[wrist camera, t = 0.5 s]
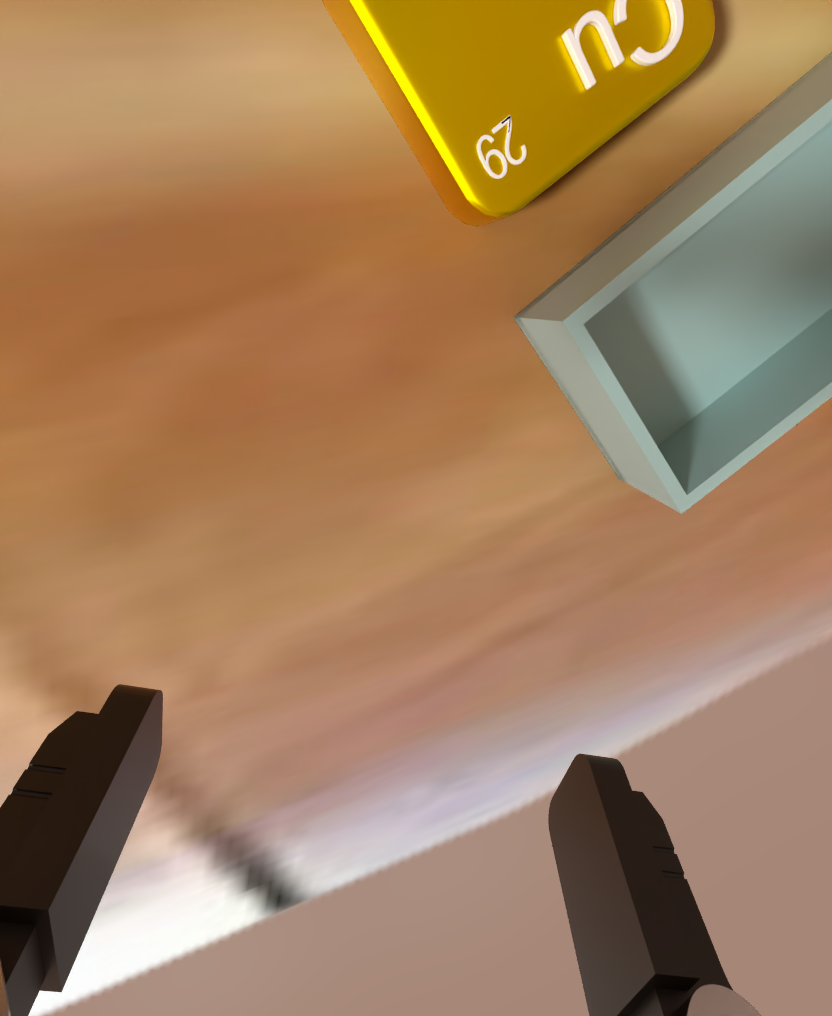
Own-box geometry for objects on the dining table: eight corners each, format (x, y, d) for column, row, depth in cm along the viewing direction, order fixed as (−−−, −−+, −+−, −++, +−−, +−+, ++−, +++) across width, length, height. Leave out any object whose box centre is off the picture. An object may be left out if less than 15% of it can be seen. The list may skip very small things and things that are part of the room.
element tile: (547, -251, 27) (597, -361, 22) (678, 75, 32) (738, 39, 28) (295, -38, 28) (294, -103, 23) (466, 243, 33) (491, 234, 29)
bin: (619, 479, 40) (681, 513, 33) (513, 317, 35) (562, 321, 28) (928, 233, 38) (1057, 220, 32) (864, 24, 33) (1003, -43, 26)
